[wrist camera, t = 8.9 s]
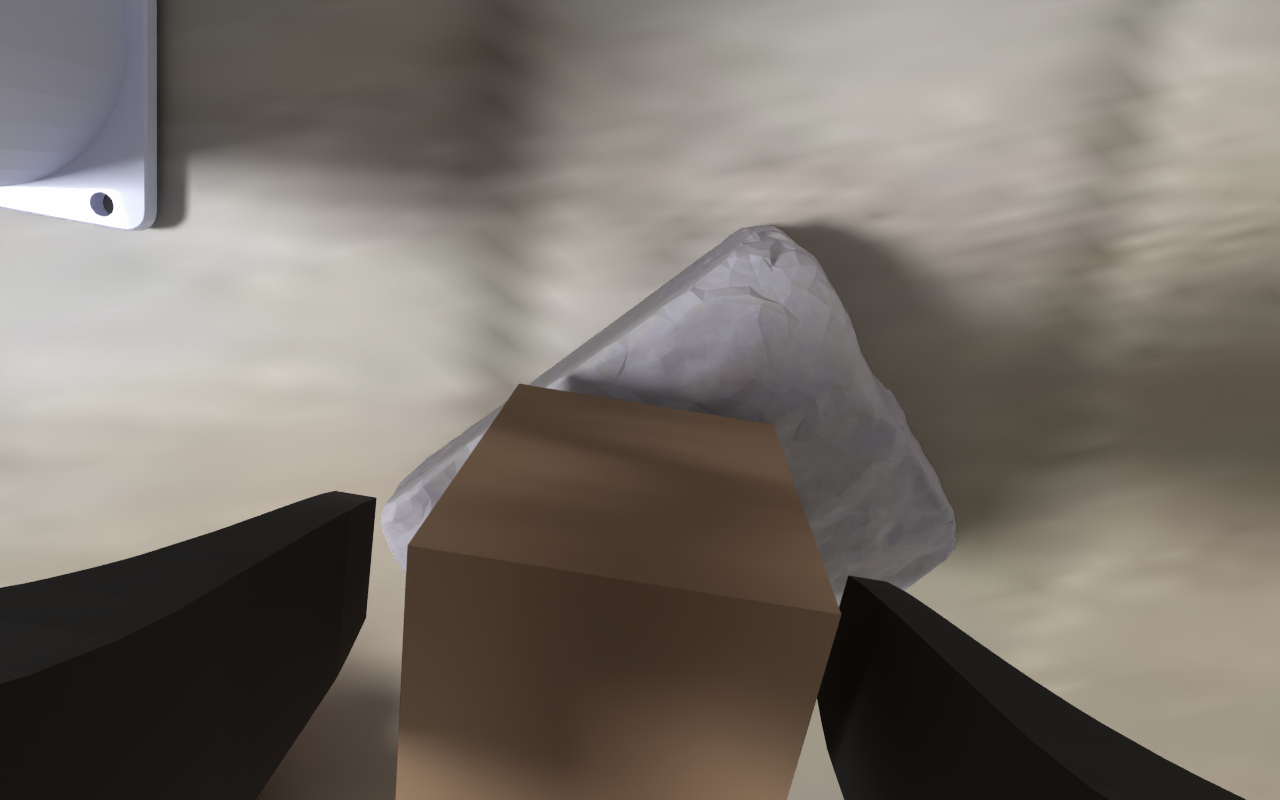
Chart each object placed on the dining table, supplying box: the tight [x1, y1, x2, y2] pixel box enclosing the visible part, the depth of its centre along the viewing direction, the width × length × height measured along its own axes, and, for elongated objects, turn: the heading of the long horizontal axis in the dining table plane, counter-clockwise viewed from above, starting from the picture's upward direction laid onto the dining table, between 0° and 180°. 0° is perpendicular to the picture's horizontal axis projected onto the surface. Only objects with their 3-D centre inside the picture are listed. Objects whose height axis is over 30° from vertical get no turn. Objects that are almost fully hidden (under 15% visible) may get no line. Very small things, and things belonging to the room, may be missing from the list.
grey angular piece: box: [380, 226, 956, 606], centre depth 17 cm, size 12×5×10 cm
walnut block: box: [395, 384, 841, 800], centre depth 12 cm, size 5×5×6 cm
